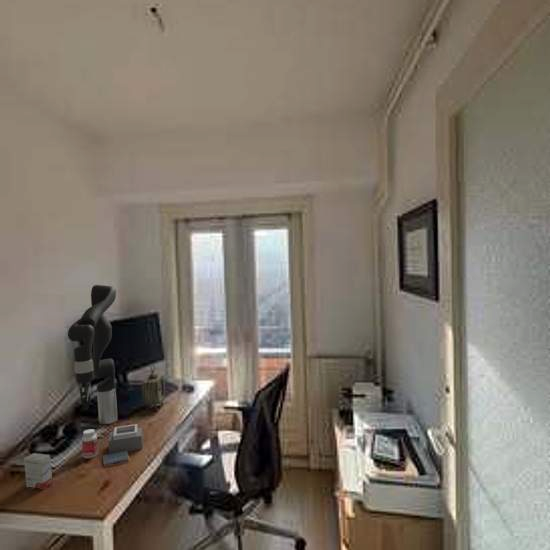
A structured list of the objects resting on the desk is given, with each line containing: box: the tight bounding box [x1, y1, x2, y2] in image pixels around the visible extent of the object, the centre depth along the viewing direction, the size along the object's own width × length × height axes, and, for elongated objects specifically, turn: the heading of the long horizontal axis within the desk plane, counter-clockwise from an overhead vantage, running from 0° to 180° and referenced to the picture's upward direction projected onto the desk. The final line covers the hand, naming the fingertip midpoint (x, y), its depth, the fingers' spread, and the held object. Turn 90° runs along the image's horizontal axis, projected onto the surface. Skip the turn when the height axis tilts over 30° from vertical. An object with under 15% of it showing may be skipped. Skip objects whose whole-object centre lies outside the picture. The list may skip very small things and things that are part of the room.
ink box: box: [23, 452, 54, 490], centre depth 169 cm, size 9×5×12 cm, turn 71°
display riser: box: [108, 423, 144, 455], centre depth 199 cm, size 10×14×8 cm
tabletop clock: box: [141, 364, 166, 412], centre depth 247 cm, size 14×9×25 cm, turn 179°
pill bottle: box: [81, 428, 99, 459], centre depth 192 cm, size 6×6×11 cm
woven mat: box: [102, 450, 131, 468], centre depth 187 cm, size 10×11×2 cm
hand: (87, 406), depth 191 cm, fingers open, 8 cm apart
